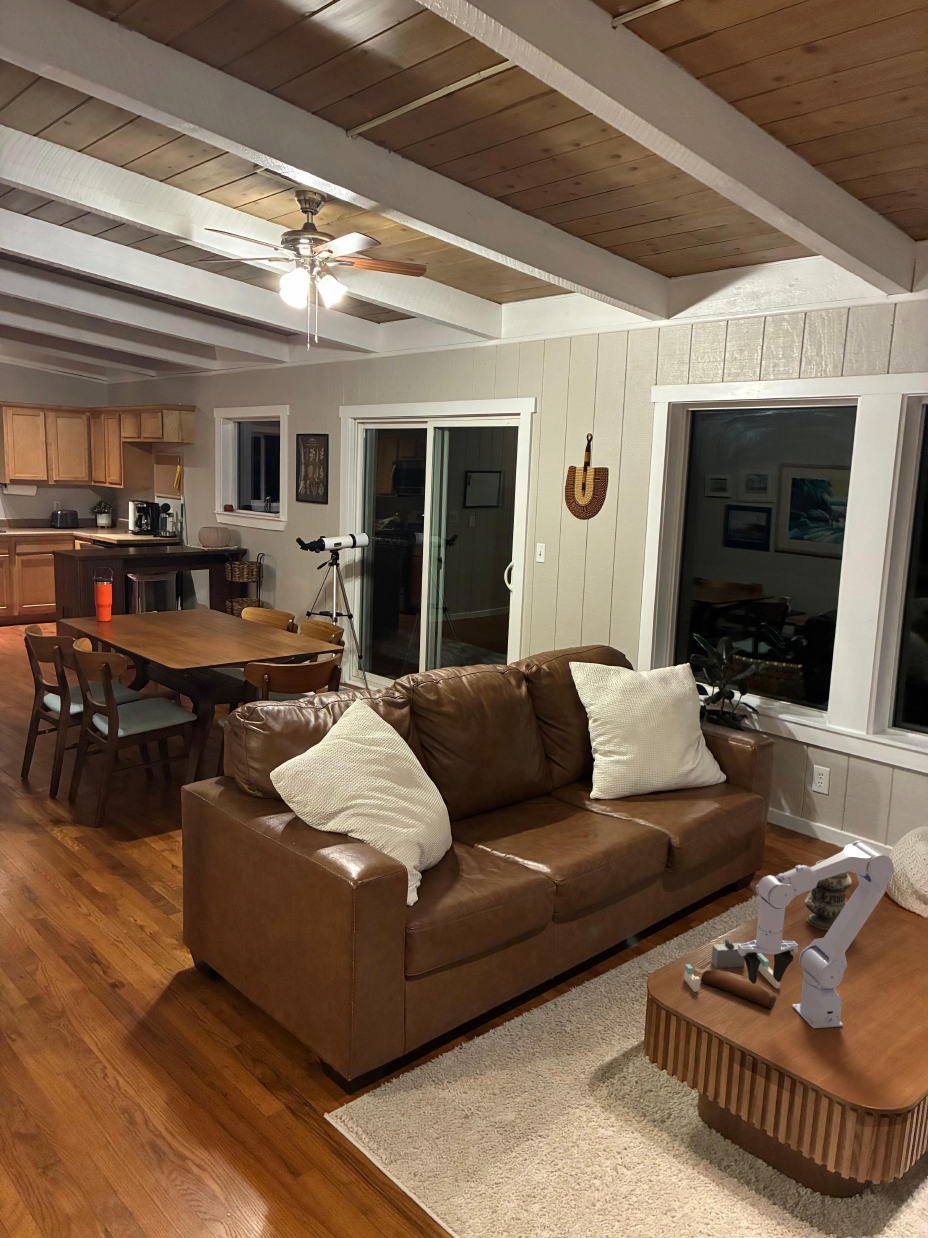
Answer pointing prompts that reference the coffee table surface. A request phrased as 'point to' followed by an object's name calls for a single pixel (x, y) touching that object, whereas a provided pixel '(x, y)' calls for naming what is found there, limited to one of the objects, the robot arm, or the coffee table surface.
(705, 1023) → the coffee table surface
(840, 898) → the apothecary jar
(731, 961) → the grey block
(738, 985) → the sunglasses case
